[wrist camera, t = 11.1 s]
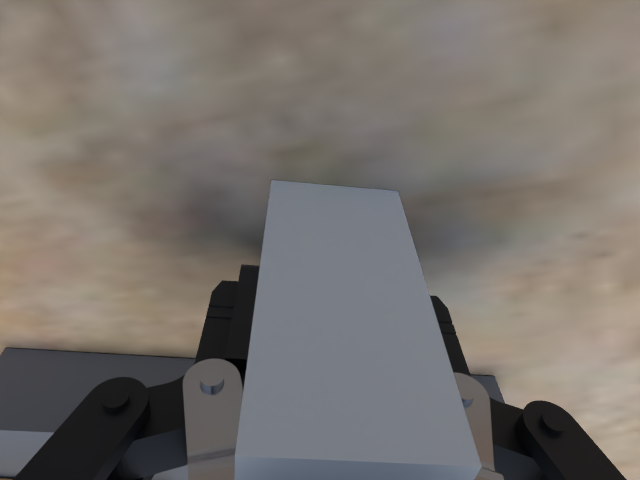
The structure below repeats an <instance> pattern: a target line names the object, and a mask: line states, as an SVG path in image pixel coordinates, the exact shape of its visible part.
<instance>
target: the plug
mask: <svg viewBox="0 0 640 480" xmlns="http://www.w3.org/2000/svg"><path fill="white" fill-rule="evenodd" d="M481 467H482V466H481V463H480V459H479V456H478V453H477V449H476V446H475V443H474V439H473V436H472V433H471V430H470V426H469V423H468V420H467V416H466V413H465V410H464V407H463V403H462V400H461V397H460V393H459V390H458V387H457V384H456V380H455V377H454V374H453V370H452V367H451V364H450V361H449V357H448V354H447V351H446V347H445V344H444V341H443V337H442V334H441V331H440V328H439V324H438V321H437V318H436V314H435V311H434V308H433V305H432V301H431V298H430V295H429V291H428V288H427V285H426V282H425V278H424V275H423V272H422V268H421V265H420V262H419V258H418V255H417V252H416V249H415V245H414V242H413V239H412V235H411V232H410V229H409V226H408V222H407V219H406V216H405V212H404V209H403V206H402V203H401V199H400V196H399V193H398V191H390V190H379V189H368V188H357V187H346V186H334V185H323V184H312V183H301V182H289V181H278V180H271V186H270V193H269V201H268V208H267V216H266V224H265V231H264V239H263V246H262V254H261V261H260V269H259V277H258V284H257V292H256V299H255V307H254V314H253V322H252V330H251V337H250V345H249V352H248V360H247V367H246V375H245V383H244V390H243V398H242V405H241V413H240V420H239V428H238V436H237V443H236V451H235V475H234V480H474V479H475V477H476V476H477V474H478V472H479V470H480V469H481Z"/></svg>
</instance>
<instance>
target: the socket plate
mask: <svg viewBox="0 0 640 480" xmlns="http://www.w3.org/2000/svg"><path fill="white" fill-rule="evenodd" d="M195 360H196V359H186V358H169V357H152V356H134V355H117V354H100V353H82V352H65V351H48V350H31V349H13V348H5V349H4V351H3V352H2V354H1V355H0V479H14V478H15V477H16V475H17V474H18V473H19V472H20V471H21V470H22V469H23V468H24V466H25V465H26V464H27V463H28V462H29V461H30V460H31V458H32V457H33V456H34V455H35V454H36V453H37V452H38V451H39V449H40V448H41V447H42V446H43V445H44V444H45V443H46V441H47V440H48V439H49V438H50V437H51V436H52V435H53V434H54V432H55V431H56V430H57V429H58V428H59V427H60V426H61V424H62V423H63V422H64V421H65V420H66V419H67V418H68V417H69V415H70V414H71V413H72V412H73V411H74V410H75V409H76V407H77V406H78V405H79V404H80V403H81V402H82V401H83V400H84V398H85V397H86V396H87V395H88V394H89V393H90V392H91V391H92V390H93V389H94V388H95V387H96V386H97V385H99V384H100V383H102V382H104V381H106V380H109V379H112V378H116V377H131V378H134V379H137V380H139V381H140V382H142V383H143V384H144V385H145V387H146V388H148V387H152V386H157V385H161V384H165V383H169V382H172V381H174V380H177V379H178V378H180V377H182V376H183V375H185V374H186V372H187V371H188V370H189V369H190V368H191V367H192V366H193V364H194V362H195ZM470 376H471V377H472V378H474V379H475V380H477V381H478V382H479V383H480V384H481V385H482V386H483V387H484V388H485V390H486V391H487V393H488V396H489V397H491V398H493V399H495V400H497V401H499V402H502V403H505V402H504V400H503V397H502V394H501V392H500V389H499V387H498V384H497V381H496V379H495V376H480V375H470ZM151 480H189V479H188V465H185V466H182V467H178V468H175V469H171V470H168V471H164V472H161V473H157V474H155V475H154V476H153V478H152V479H151Z"/></svg>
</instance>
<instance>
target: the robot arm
mask: <svg viewBox="0 0 640 480" xmlns="http://www.w3.org/2000/svg"><path fill="white" fill-rule="evenodd" d="M259 269H260V266H254V265H241V270H240V275H239V281H238V282H237V281H223V280H222V281H221V282H220V284H219V285H218V286H217V287H216V288H215V289H214V290H213V291H212V295H211V299H210V303H209V308H208V311H207V315H206V319H205V323H204V327H203V331H202V336H201V340H200V344H199V348H198V352H197V356H196V360H195V362H194V364H193V366H192V367H191V368H190V369H189V370H188V371H187V372H186V374H185V375H183V376H182V377H180V378H178V379H177V380H174V381H172V382H169V383H165V384H161V385H157V386H152V387H148V388H146V387H145V385H144V384H143V383H142V382H140V381H139V380H137V379H134V378H131V377H116V378H112V379H109V380H106V381H104V382H102V383H100V384H99V385H97V386H96V387H95V388H94V389H93V390H92V391H91V392H90V393H89V394H88V395H87V396H86V397H85V398H84V400H83V401H82V402H81V403H80V404H79V405H78V406H77V407H76V409H75V410H74V411H73V412H72V413H71V414H70V415H69V417H68V418H67V419H66V420H65V421H64V422H63V423H62V424H61V426H60V427H59V428H58V429H57V430H56V431H55V432H54V434H53V435H52V436H51V437H50V438H49V439H48V440H47V441H46V443H45V444H44V445H43V446H42V447H41V448H40V449H39V451H38V452H37V453H36V454H35V455H34V456H33V457H32V458H31V460H30V461H29V462H28V463H27V464H26V465H25V466H24V468H23V469H22V470H21V471H20V472H19V473H18V474H17V475H16V477H15V478H14V479H13V480H151V479H152V478H153V476H154V475H155V474H157V473H161V472H164V471H168V470H171V469H175V468H178V467H182V466H185V465H188V479H189V480H234V475H235V451H236V443H237V436H238V428H239V420H240V413H241V405H242V398H243V390H244V383H245V375H246V367H247V360H248V352H249V345H250V337H251V330H252V322H253V314H254V307H255V299H256V292H257V284H258V277H259ZM430 298H431V301H432V305H433V308H434V311H435V314H436V318H437V321H438V324H439V328H440V331H441V334H442V337H443V341H444V344H445V347H446V351H447V354H448V357H449V361H450V364H451V367H452V370H453V374H454V377H455V380H456V384H457V387H458V390H459V393H460V397H461V400H462V403H463V407H464V410H465V413H466V416H467V420H468V423H469V426H470V430H471V433H472V436H473V439H474V443H475V446H476V449H477V453H478V456H479V459H480V463H481V466H482V467H481V469H480V470H479V472H478V474H477V476H476V477H475V479H474V480H626V479H625V477H624V476H623V475H622V474H621V473H620V472H619V471H618V469H617V468H616V467H615V466H614V465H613V464H612V462H611V461H610V460H609V459H608V458H607V457H606V455H605V454H604V453H603V452H602V451H601V450H600V448H599V447H598V446H597V445H596V444H595V443H594V441H593V440H592V439H591V438H590V437H589V436H588V435H587V433H586V432H585V431H584V430H583V429H582V428H581V426H580V425H579V424H578V423H577V422H576V421H575V419H574V418H573V417H572V416H571V415H570V414H569V413H568V412H566V411H565V410H564V409H562V408H561V407H559V406H557V405H555V404H553V403H550V402H547V401H533V402H530V403H529V404H527V405H526V407H525V408H524V410H523V409H520V408H517V407H514V406H511V405H508V404H505V403H502V402H499V401H497V400H495V399H493V398H491V397H489V396H488V393H487V391H486V390H485V388H484V387H483V386H482V385H481V384H480V383H479V382H478V381H477V380H475V379H474V378H472V377H471V376H470V373H469V370H468V367H467V364H466V361H465V358H464V355H463V352H462V349H461V346H460V343H459V340H458V338H457V336H456V332H455V329H454V326H453V325H452V320H451V317H450V314H449V311H448V308H447V307H446V306H445V305H444V304H443V302H442V301H441V300H440V299H439V298H438V297H437V296H430Z"/></svg>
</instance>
